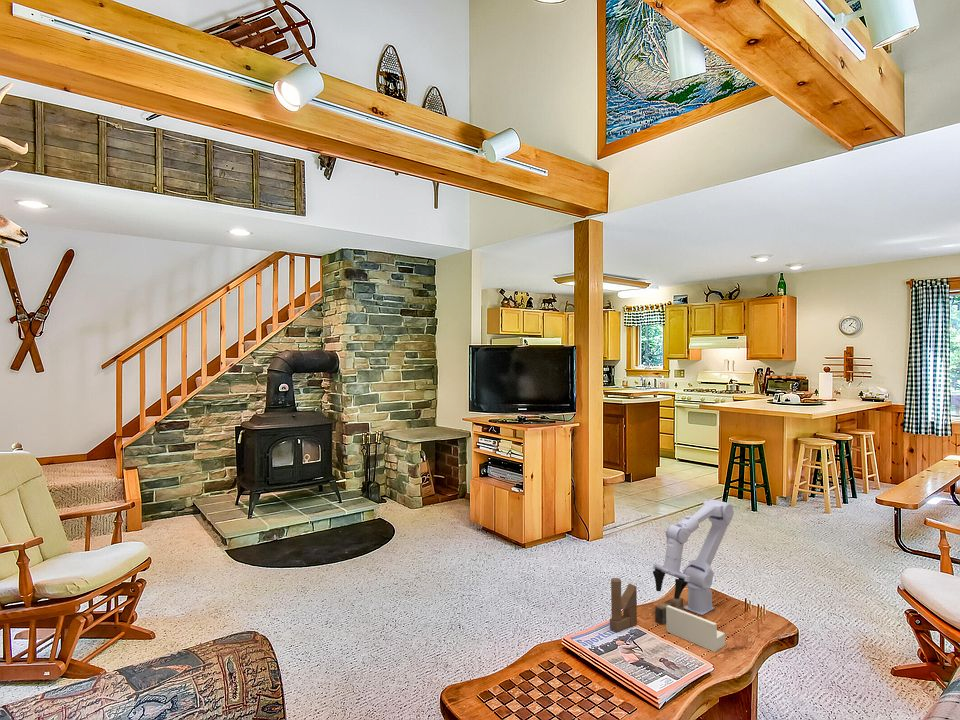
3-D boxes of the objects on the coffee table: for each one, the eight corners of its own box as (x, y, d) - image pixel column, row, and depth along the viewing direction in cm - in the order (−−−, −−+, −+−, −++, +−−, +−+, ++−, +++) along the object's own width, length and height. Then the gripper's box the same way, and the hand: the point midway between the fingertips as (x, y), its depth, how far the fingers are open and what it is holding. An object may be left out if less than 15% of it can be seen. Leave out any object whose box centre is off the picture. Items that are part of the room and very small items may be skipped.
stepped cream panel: (677, 625, 194) (676, 600, 194) (725, 645, 180) (724, 618, 180) (666, 631, 190) (666, 606, 190) (714, 652, 176) (714, 624, 176)
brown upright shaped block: (637, 624, 195) (636, 575, 195) (616, 632, 189) (616, 582, 190) (629, 620, 198) (628, 572, 198) (609, 628, 192) (608, 579, 193)
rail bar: (676, 611, 206) (676, 596, 206) (683, 614, 203) (683, 598, 203) (655, 622, 197) (655, 606, 197) (662, 625, 195) (662, 609, 195)
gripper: (650, 551, 204) (644, 587, 202) (685, 564, 193) (679, 602, 191) (660, 552, 208) (654, 587, 206) (695, 564, 197) (689, 602, 195)
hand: (667, 594), depth 199 cm, fingers open, 7 cm apart
